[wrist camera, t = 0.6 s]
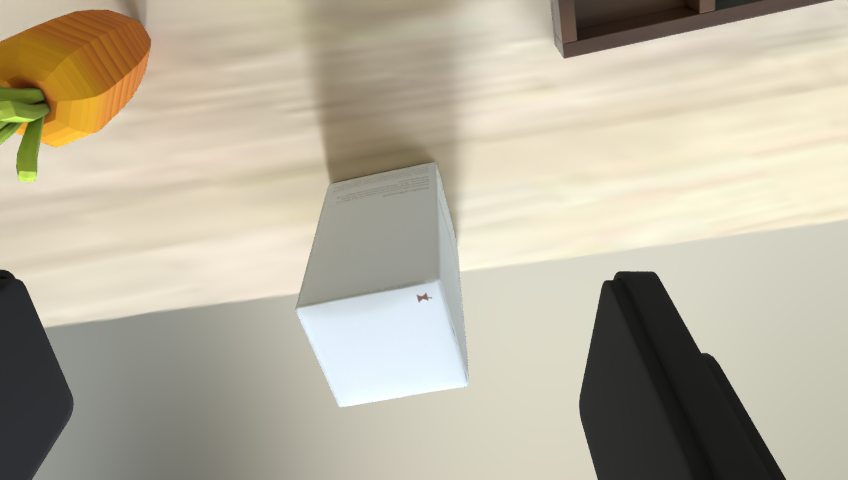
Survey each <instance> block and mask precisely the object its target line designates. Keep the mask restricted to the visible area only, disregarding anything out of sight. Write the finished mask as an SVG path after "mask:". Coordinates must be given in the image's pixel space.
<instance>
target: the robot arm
mask: <svg viewBox="0 0 848 480" xmlns="http://www.w3.org/2000/svg"><path fill="white" fill-rule="evenodd" d="M579 409H580V417H581V421H582V425H583V429H584V432H585V436H586V439H587V443H588V446H589V450H590V453H591V457H592V460H593V464H594V468H595V471H596V474H597V478H598V480H786V478H785V477H784V475H783V473H782V472H781V470H780V468H779V466H778V465H777V463H776V461H775V460H774V458H773V456H772V455H771V453H770V451H769V449H768V448H767V446H766V444H765V443H764V441H763V439H762V437H761V436H760V434H759V432H758V430H757V429H756V427H755V425H754V424H753V422H752V420H751V418H750V417H749V415H748V413H747V411H746V410H745V408H744V406H743V405H742V403H741V401H740V399H739V398H738V396H737V394H736V393H735V391H734V389H733V387H732V386H731V384H730V382H729V381H728V379H727V377H726V375H725V374H724V372H723V370H722V369H721V367H720V365H719V364H718V362H717V361H716V360H715V358H714V357H713V356H711V355H709V354H708V353H701V352H700V350H699V349H698V347H697V345H696V343H695V342H694V340H693V338H692V336H691V334H690V332H689V331H688V329H687V327H686V325H685V324H684V322H683V320H682V318H681V316H680V315H679V313H678V311H677V309H676V307H675V306H674V304H673V302H672V300H671V298H670V297H669V295H668V293H667V291H666V290H665V288H664V286H663V284H662V282H661V281H660V279H659V277H658V276H657V274H656V273H654V272H630V271H623V272H622V271H621V272H617V273H616V275H615V276H614V279H613V280H606V281H604V283H603V285H602V289H601V294H600V299H599V304H598V309H597V314H596V319H595V324H594V329H593V334H592V339H591V344H590V349H589V354H588V359H587V364H586V368H585V373H584V379H583V383H582V389H581V394H580V400H579ZM72 411H73V397H72V394H71V391H70V389H69V387H68V385H67V382H66V380H65V377H64V375H63V373H62V370H61V368H60V366H59V364H58V361H57V359H56V357H55V354H54V352H53V349H52V347H51V345H50V342H49V340H48V338H47V335H46V333H45V331H44V328H43V326H42V324H41V321H40V319H39V317H38V314H37V312H36V310H35V307H34V305H33V303H32V300H31V298H30V296H29V293H28V291H27V289H26V286H25V285H24V283H23V282H22V281H21V280H19V279H15V277H14V275H13V274H11V273H10V272H9V271H6V270H0V480H32V479H33V477H34V475H35V474H36V472H37V470H38V469H39V467H40V466H41V464H42V462H43V461H44V459H45V458H46V456H47V454H48V453H49V451H50V450H51V448H52V446H53V445H54V443H55V442H56V440H57V438H58V437H59V435H60V434H61V432H62V430H63V429H64V427H65V426H66V424H67V422H68V421H69V419H70V417H71V414H72Z"/></svg>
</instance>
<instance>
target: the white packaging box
mask: <svg viewBox="0 0 848 480" xmlns="http://www.w3.org/2000/svg"><path fill="white" fill-rule="evenodd" d="M295 310H296V312H297V315H298V317H299V319H300V321H301V323H302V326H303V328H304V330H305V332H306V335H307V337H308V339H309V342H310V344H311V346H312V348H313V350H314V352H315V355H316V357H317V359H318V361H319V364H320V366H321V368H322V370H323V373H324V374H325V377H326V379H327V381H328V384H329V386H330V388H331V390H332V392H333V394H334V397H335V399H336V401H337V403H338V405H339V407H344V406H350V405H357V404H362V403H368V402H374V401H380V400H386V399H392V398H398V397H404V396H409V395H415V394H420V393H426V392H432V391H438V390H445V389H452V388H458V387H465V386H468V384H469V377H468V359H467V347H466V338H465V337H466V336H465V326H464V316H463V304H462V294H461V283H460V271H459V257H458V248H457V243H456V239H455V234H454V230H453V226H452V221H451V217H450V213H449V209H448V205H447V201H446V197H445V193H444V190H443V186H442V182H441V178H440V174H439V170H438V166H437V163H436V162H432V163H426V164H421V165H416V166H412V167H407V168H402V169H397V170H392V171H388V172H383V173H378V174H373V175H368V176H364V177H359V178H354V179H350V180H345V181H340V182H337V183H333V184H330V185H329V186H328V188H327V192H326V196H325V200H324V203H323V207H322V211H321V214H320V218H319V222H318V226H317V230H316V233H315V237H314V241H313V245H312V249H311V252H310V256H309V260H308V264H307V267H306V271H305V275H304V279H303V282H302V286H301V290H300V293H299V297H298V301H297V305H296V307H295Z"/></svg>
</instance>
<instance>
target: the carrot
mask: <svg viewBox="0 0 848 480" xmlns="http://www.w3.org/2000/svg"><path fill="white" fill-rule="evenodd" d="M150 47H151V39H150V37H149V35H148V33H147V31H146V30H145V28H144V27H143V25H142V24H141V23H140V22H139V21H136V20H134V19H132V18H129V17H127V16H124V15H122V14H119V13H116V12H113V11H109V10H86V11H76V12H73V13H70V14H67V15H64V16H61V17H58V18H55V19H52V20H50V21H47V22H45V23H42V24H40V25H37V26H35V27H32V28H30V29H28V30H25V31H23V32H21V33H19V34H16V35H14V36H12V37H10V38H8V39H5V40H3V41H1V42H0V144H2V143H3V142H4V141H5V140H6V139H8V138H9V137H10V136H11V135H12V134H13V133H17V134H20V135H23V138H22V141H21V144H20V147H19V150H18V153H17V164H16V168H17V174H18V179H19V181H25V182H30V181H35V180H36V176H37V157H38V151H39V145H40V142H42V143H45V144H48V145H51V146H53V147H59V146H63V145H65V144H68V143H70V142H73V141H75V140H78V139H80V138H83V137H85V136H87V135H90V134H92V133H95V132H97V131H99V130H101V129H102V128H103V127H104V126H105V125H106V124H107V123H108V122H109V121H110V120H111V119H112V118H113V117H114V116H115V115H116V114H117V113H118V112H119V111H120V110H121V109H122V108H123V107H124V106H125V105H126V104H127V103H128V101H129V100H130V99H131V98H132V97H133V95H134V93H135V92H136V90H137V88H138V86H139V84H140V82H141V80H142V78H143V75H144V73H145V71H146V66H147V61H148V57H149V52H150Z"/></svg>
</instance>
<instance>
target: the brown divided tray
mask: <svg viewBox="0 0 848 480" xmlns="http://www.w3.org/2000/svg"><path fill="white" fill-rule="evenodd" d="M827 1H832V0H550V2H551V11H552V21H553V30H554V40H555V46H556V47H557V49H558V50H559V52H560V53H561V55H562V56H563V58H564V59H565V58H570V57H574V56H579V55H583V54H588V53H593V52H597V51H602V50H606V49H611V48H616V47H620V46H625V45H630V44H634V43H639V42H643V41H648V40H653V39H657V38H662V37H666V36H671V35H676V34H680V33H685V32H689V31H694V30H699V29H703V28H708V27H712V26H717V25H722V24H726V23H731V22H735V21H740V20H745V19H749V18H754V17H758V16H763V15H768V14H772V13H777V12H781V11H786V10H791V9H795V8H800V7H804V6H809V5H814V4H818V3H823V2H827Z"/></svg>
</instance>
